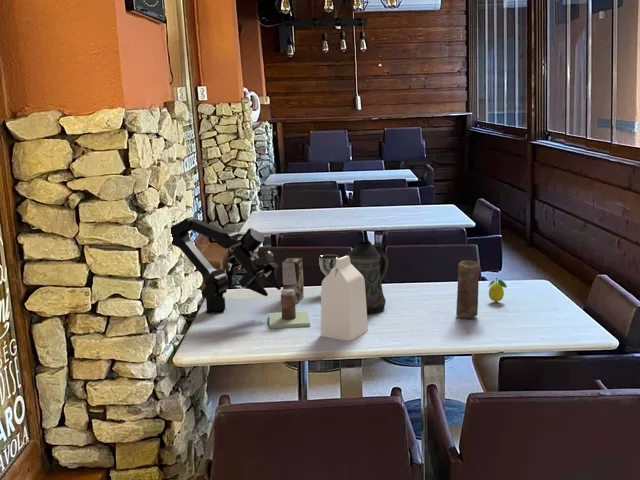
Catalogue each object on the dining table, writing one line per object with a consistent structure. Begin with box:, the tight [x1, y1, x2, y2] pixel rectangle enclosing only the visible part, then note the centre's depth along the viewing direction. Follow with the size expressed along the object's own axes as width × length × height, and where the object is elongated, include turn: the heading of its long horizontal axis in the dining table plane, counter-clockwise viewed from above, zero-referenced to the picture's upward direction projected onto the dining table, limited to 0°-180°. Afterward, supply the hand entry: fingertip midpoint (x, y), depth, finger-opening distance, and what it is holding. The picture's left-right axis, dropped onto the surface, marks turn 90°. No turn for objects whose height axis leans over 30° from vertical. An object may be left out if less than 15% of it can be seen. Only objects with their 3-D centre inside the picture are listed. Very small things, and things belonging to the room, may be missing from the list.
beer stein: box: [346, 241, 389, 316], centre depth 266 cm, size 16×19×25 cm
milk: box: [320, 255, 369, 342], centre depth 237 cm, size 12×12×26 cm
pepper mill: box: [280, 289, 297, 320], centre depth 253 cm, size 5×5×10 cm
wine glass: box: [318, 254, 340, 277], centre depth 288 cm, size 8×8×15 cm
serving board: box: [268, 310, 311, 329], centre depth 254 cm, size 14×14×1 cm
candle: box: [455, 259, 480, 320], centre depth 251 cm, size 8×7×20 cm
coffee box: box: [281, 257, 305, 304], centre depth 279 cm, size 9×6×16 cm
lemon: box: [488, 277, 508, 303], centre depth 269 cm, size 7×6×10 cm
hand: (273, 292), depth 255 cm, fingers open, 9 cm apart
